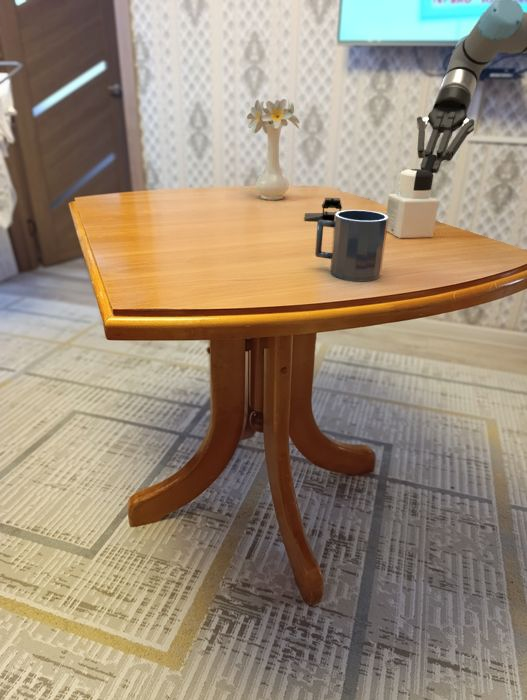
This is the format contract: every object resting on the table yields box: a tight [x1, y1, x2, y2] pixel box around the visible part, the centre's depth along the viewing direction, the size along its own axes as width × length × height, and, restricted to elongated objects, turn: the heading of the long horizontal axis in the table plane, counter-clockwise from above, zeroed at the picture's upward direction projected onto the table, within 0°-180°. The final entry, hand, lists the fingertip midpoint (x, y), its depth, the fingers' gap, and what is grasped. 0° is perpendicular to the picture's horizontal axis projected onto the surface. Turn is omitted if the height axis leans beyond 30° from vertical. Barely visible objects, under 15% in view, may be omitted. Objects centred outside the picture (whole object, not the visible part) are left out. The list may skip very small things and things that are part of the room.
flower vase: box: [246, 98, 300, 201], centre depth 137 cm, size 13×18×25 cm
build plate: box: [304, 197, 343, 222], centre depth 120 cm, size 12×7×5 cm, turn 86°
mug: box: [314, 209, 389, 283], centre depth 82 cm, size 11×8×10 cm
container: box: [385, 168, 440, 239], centre depth 106 cm, size 8×8×13 cm
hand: (424, 182), depth 111 cm, fingers closed
